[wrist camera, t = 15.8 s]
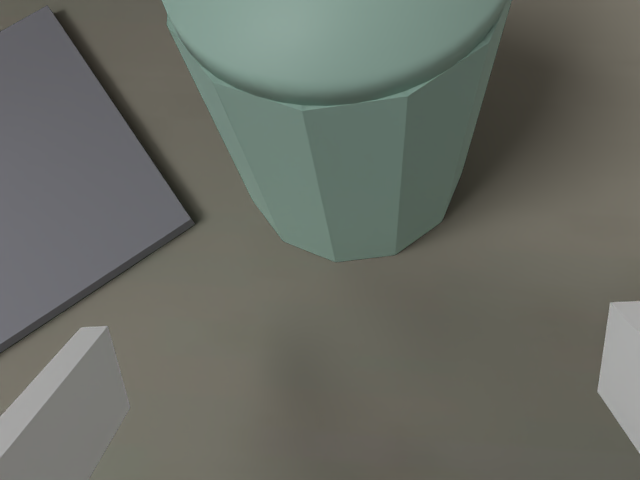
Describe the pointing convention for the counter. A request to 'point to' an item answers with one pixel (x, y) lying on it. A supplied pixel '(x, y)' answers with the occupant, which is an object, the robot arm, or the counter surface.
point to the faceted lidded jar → (343, 109)
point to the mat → (67, 181)
